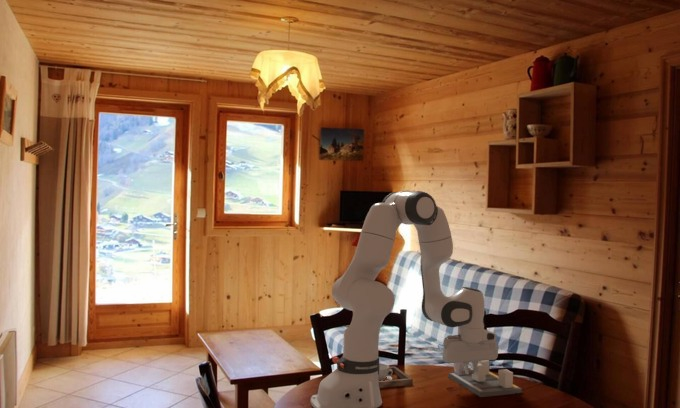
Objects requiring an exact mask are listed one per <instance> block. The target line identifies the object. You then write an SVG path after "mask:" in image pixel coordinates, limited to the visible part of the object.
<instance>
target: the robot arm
mask: <svg viewBox="0 0 680 408" xmlns="http://www.w3.org/2000/svg"><path fill="white" fill-rule="evenodd" d="M402 224H403V225H407V226H409V225H411V226H412V225H413V226H414V228H415V229H416V232H417V238H418V244H419V250H420V251H419V252H420V272H421V273H420V275H421V283H422V291H423V292H422V301H421V312H422V314H423V316H424V317H425V319H427V320H428V321H430V322H434V323H438V324H440V325H442V326H445V327H448V328H457V334H454V335H451V334H449V335H447V336H446V337H444V339H443V350H442V357H441V358H442V360H443V361H444V362H445V363H446V364H454V363H461V362H462V364H463V366H464V368H465V374H475V368H476V367H477V365H478V361H485V360H489V361H494V360H495V361H496V360H497V358H498V357H499V356H498V355H499V344H498V342H497V337H498V336H497V333H495V332H493V331H490V330H488V329H485V323H484V316H485V297H484V293H483V292H482V291H481V290H480V289H477V288H473V287H470V286H462V287H461V288H460V289H459V290H458V291H457V292H456V293H454V294H453V295H449V296H446V295H445V294H444V293H443V291H442V288H441V277H440V267H441V266H442V265H443V264H445V263H446V262H448V261H449V260H450V259H451V257H452V256H453V250H454V249H453V248H454V244H453V238H452V233H451V228H450V225H449V222H448V219H447V216H446V213H445V212H444V209H443V208H441V207H440V206H438V205H437V203H436V200H435V199H434V197H433V196H432V195H431V194H430V193H428V192H425V191H421V190H417V191H414V190H402V191H393V192H390V193H389V194H388V195H386V196H384V198H383V200H382V202H377V203H373V205H371V207H370V208H369V211H368V212H367V214H366V216H365V219H364V222H363V225H362V228H361V231H360V235H359V238H358V242H357V246H356V249H355V252H354V254H353V257H352V260H351V261H350V263H349V265H348V266H347V268H346V270H345V272H344V273H343V274H342V276H340V277H339V278H338V279H336V280H335V282H334V283H333V286H332V289H331V293H332V294H331V295H332V298H333V300H334V301H335V302H336V303H337V304H338V305H339V306H341V307H342V308H343V309H345V310H347V311H352V318H351V322H350V325H349V326H348V327H347V328H345V329H344V332H343V346H342V347H343V348H342V349H343V350H342V352H343V353H342V355H341V357H340V358H339V357H338V356H336V355H335V356H333V357H332V362H333V363H334V364H335V365H336V369H334V370H333V371H332V372H330V374H328V375H327V376H326V377H324V378H323V379H322V380H321V381H320V383H319V385H318V390H317V394H312V396H311V397H310V400H309V401H310V405H311V406H312V407H313V408H379V407H381V406H382V404H383V401H382V400H383V399H382V396H381V390H380V389H381V388H379V380H378V375H379V369H380V357H379V343H380V340H379V339H380V333H381V328H382V325H383V322H384V320H385V318H386V317H387V316H388V315H390V313H391V312H392V311H393V309H394V306H395V300H396V299H395V295H394V292H393V291H392V290H391V289H390V287H388V286H387V285H385V284H384V283H382V282H380V281H377V280H376V279H377V277H378V275H379V274H380V272H381V271H382V270H384V269H385V268H386V267H387V266H388V265H389V263H390V260H391V255H392V251H393V247H394V243H395V240H396V237H397V236H396V235H397V231H398V229H399V227H400V226H401V225H402ZM470 363H471V366H470V367H469V365H470Z"/></svg>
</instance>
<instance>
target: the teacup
mask: <svg viewBox="0 0 680 408" xmlns="http://www.w3.org/2000/svg"><path fill="white" fill-rule="evenodd" d="M379 363H380V362H379ZM389 367H390V366H389V365H388V364H385V363H380V369H379V375H378V380H381V381H383V380H384V379H385V378H386V377H387V380H393V377H392V375H393V374H394V373H393V371H392V370H391V369H389ZM389 371H391V372H392V373H388V372H389ZM385 381H386V380H385Z"/></svg>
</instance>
